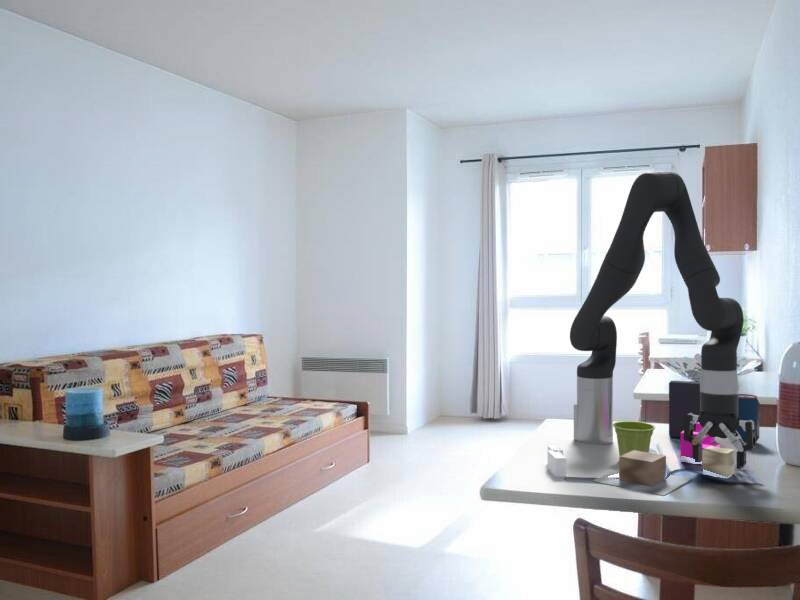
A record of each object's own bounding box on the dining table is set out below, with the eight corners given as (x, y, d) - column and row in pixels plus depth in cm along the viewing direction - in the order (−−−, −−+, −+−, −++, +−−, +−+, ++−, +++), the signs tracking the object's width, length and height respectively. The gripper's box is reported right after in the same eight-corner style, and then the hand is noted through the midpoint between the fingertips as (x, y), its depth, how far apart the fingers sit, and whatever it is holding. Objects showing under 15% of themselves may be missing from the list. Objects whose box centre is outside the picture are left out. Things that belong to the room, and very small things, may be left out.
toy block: (709, 468, 159) (709, 435, 159) (680, 464, 163) (680, 432, 163) (725, 455, 171) (725, 424, 171) (698, 451, 175) (698, 421, 174)
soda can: (726, 437, 188) (726, 393, 188) (753, 438, 188) (753, 393, 187) (735, 443, 181) (736, 397, 181) (763, 444, 181) (764, 398, 180)
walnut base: (592, 485, 146) (592, 456, 146) (624, 470, 157) (624, 444, 157) (664, 500, 136) (664, 469, 136) (692, 483, 147) (692, 455, 147)
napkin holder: (569, 487, 147) (569, 460, 146) (520, 478, 153) (520, 452, 153) (595, 471, 159) (595, 446, 159) (549, 463, 165) (549, 439, 165)
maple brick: (702, 477, 152) (702, 450, 151) (710, 472, 155) (710, 445, 155) (726, 482, 148) (726, 453, 148) (734, 476, 152) (734, 449, 152)
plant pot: (661, 461, 165) (661, 424, 165) (644, 469, 158) (644, 431, 158) (623, 454, 171) (623, 419, 171) (605, 462, 164) (605, 425, 164)
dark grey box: (713, 437, 188) (714, 382, 188) (712, 441, 185) (713, 384, 184) (670, 434, 193) (670, 379, 193) (668, 437, 190) (668, 382, 189)
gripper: (679, 389, 153) (679, 463, 153) (749, 395, 143) (749, 474, 144) (691, 385, 159) (691, 456, 159) (759, 391, 149) (759, 467, 149)
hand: (718, 465), depth 151 cm, fingers open, 8 cm apart
